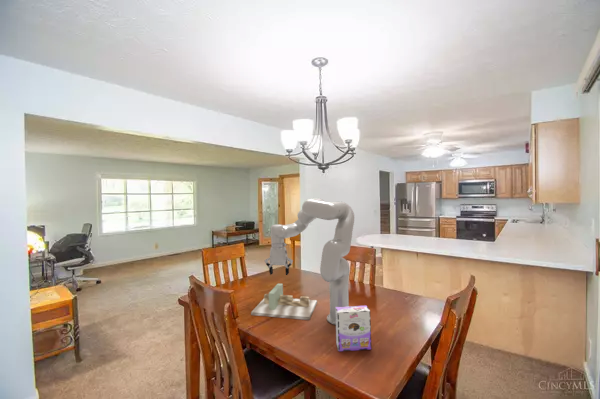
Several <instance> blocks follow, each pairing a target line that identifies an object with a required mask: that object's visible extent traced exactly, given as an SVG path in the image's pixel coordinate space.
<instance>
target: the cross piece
mask: <svg viewBox="0 0 600 399" xmlns="http://www.w3.org/2000/svg"><path fill="white" fill-rule="evenodd" d="M268 294H269V309H270V310H275V308H276V307H277V306H278V300H280V295H284V286H283V283H277V284H276V285H275V286H273V288H272V289H271V290H270V291H269V292H268Z"/></svg>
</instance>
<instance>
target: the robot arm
mask: <svg viewBox="0 0 600 399" xmlns="http://www.w3.org/2000/svg"><path fill="white" fill-rule="evenodd" d="M316 219H320V220H324V221H332V220H333V221H334V220H337V224H336V226H335V229H334V236H333V238H332V239H330V240H328V241H327V242H326V243H325V244H324V245H323V248H322V254H321V260H320V266H319V268H320V269H319V272H320V276H321V278H322V279H323V280H324V281H325V282H327V283H329V288H328V289H329V291H328V292H329V314H328V315H327V316H326V321H327V322H328V323H330V324H332V325H334V326H336V311H335V307H347V306H349V279H350V277H349V276H350V271H351V270H350V267H351V266H350V265H349V262H348V260H347V259H346V258H344V257H346V256H348V254H349V253H350V250H351V244H352V238H353V232H354V231H353V230H354V225H355V213H354V209H353V208H352V207H351V206H350V205H349V204H348V203H346V202H343V201H332V202H326V201H325V200H324V199H322V198H319V197H318V198H308V199H306V200H304V202H303V203H302V206H301V209H300V210H299V211H298V212H297V219H296V220H295V221H294V222H293V223H287V224H279V223H278V224H277V223H276V224H272V225H271V226H270V237H271V239H270V240H271V241H270V242H271V243H270V244H271V247H270V250H269V257H268V258H266V259H264V263H265V265H266V266H267V267H268V271H269V272H268V273H269V275H270V276H271V275H273V274H274V269H273V268H274V267H273V266H284V267H285V275H286V276H288V275H289V273H290V267H291V265H292V264H293V261H294V260H293V259H291V258H290V257H288V252H287V246H288V245H287V243H285V239H290V238H292V237H296V236H298V235H299V234H301V233H302V232H304V231H305V230H306V229H307V228H308V226H309V224H311V223H312V222H313V221H315V220H316ZM288 262H289V263H288Z"/></svg>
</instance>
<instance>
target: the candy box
mask: <svg viewBox="0 0 600 399" xmlns="http://www.w3.org/2000/svg"><path fill="white" fill-rule="evenodd" d="M335 311H336V325H335V341H336V342H335V343H336V348H337V351H338V352H350V351H353V352H354V351H365V350H372V329H371V321H372V320H371V310H370V309H369V307H368V306H367V305H353V306H351V305H350V306H347V307H335Z"/></svg>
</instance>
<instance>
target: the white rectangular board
mask: <svg viewBox="0 0 600 399" xmlns="http://www.w3.org/2000/svg"><path fill="white" fill-rule="evenodd" d="M317 303H318V300H316V299H310V297H309V296H306V295H303V296H302V295H301V296H300V298H294V297H293V295H289V294H283V295H280V300H278V306H277V307H276V308H275V310H270V309H269V293H264V295H263V299H262V300H261V301H260V302H259V303H258V304H257V306H255V308H253V310H251V312H250V315H251V316H259V317H270V318H271V317H272V318H281V319H294V320H302V321H303V320H305V321H310V319H311V317H312V315H313V313H314V311H315V308H316V305H317Z"/></svg>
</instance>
